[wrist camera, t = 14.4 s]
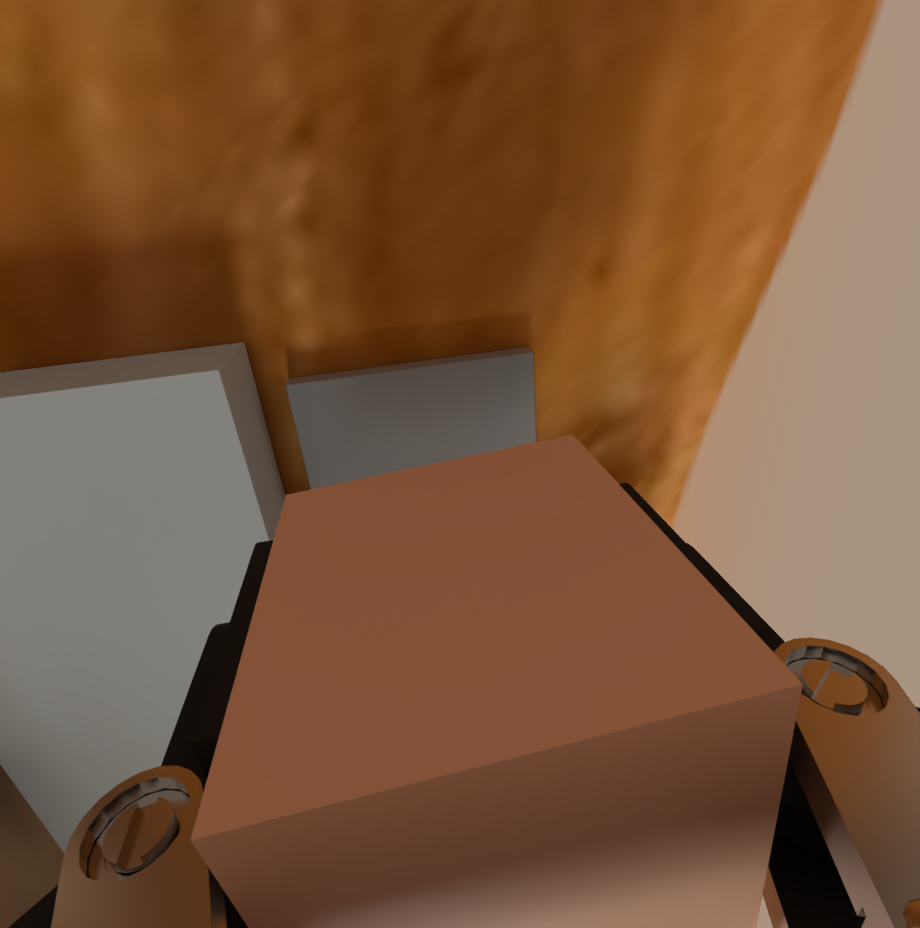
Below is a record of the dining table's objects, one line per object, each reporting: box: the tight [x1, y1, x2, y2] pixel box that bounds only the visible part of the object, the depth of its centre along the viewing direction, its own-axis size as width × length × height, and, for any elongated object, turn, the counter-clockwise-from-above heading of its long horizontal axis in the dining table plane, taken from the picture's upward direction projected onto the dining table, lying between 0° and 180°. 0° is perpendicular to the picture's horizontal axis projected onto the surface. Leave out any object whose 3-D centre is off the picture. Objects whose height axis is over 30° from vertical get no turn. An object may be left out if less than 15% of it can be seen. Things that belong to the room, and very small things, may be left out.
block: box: [191, 434, 803, 928], centre depth 8 cm, size 5×5×6 cm
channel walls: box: [0, 765, 64, 928], centre depth 15 cm, size 14×9×3 cm, turn 5°
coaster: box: [286, 347, 536, 489], centre depth 14 cm, size 6×6×1 cm
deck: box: [0, 342, 286, 854], centre depth 16 cm, size 22×9×2 cm, turn 5°
